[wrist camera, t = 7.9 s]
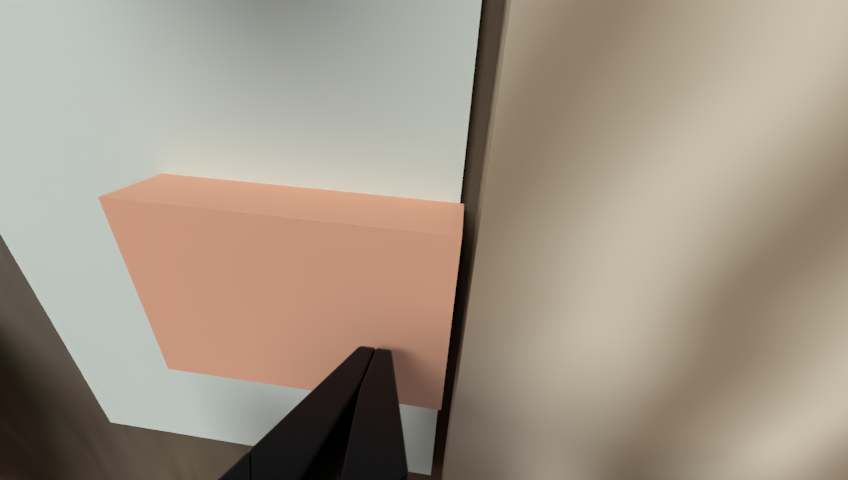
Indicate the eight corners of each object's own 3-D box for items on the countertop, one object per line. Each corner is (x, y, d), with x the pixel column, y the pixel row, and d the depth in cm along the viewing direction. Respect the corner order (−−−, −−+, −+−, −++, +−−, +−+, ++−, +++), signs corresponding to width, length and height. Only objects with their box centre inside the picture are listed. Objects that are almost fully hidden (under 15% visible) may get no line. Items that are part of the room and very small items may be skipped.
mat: (495, -124, 7) (496, -134, 6) (431, 466, 16) (430, 475, 16) (-190, -133, 8) (-219, -141, 8) (117, 414, 18) (110, 422, 17)
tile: (464, 203, 10) (462, 236, 8) (445, 360, 12) (440, 410, 11) (161, 173, 10) (97, 197, 9) (208, 327, 13) (168, 368, 11)
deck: (1417, -112, 6) (1853, -189, 4) (767, 521, 15) (806, 582, 13) (520, -123, 7) (537, -186, 5) (442, 468, 16) (438, 518, 14)
